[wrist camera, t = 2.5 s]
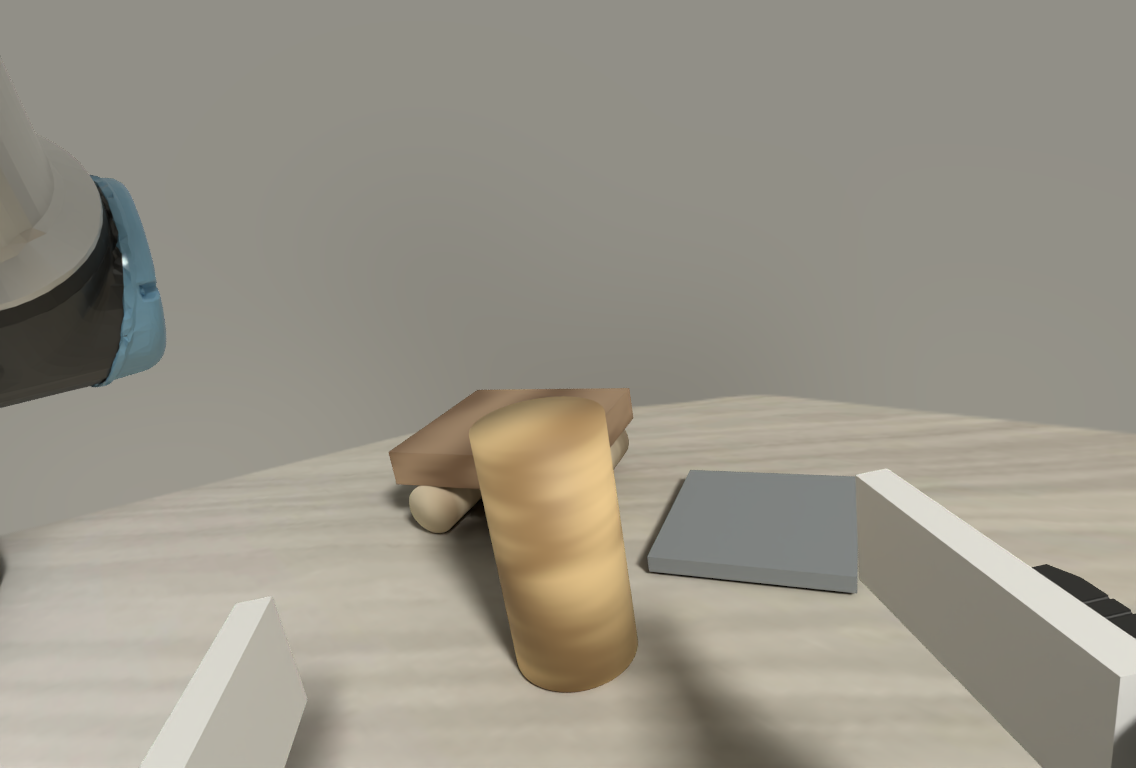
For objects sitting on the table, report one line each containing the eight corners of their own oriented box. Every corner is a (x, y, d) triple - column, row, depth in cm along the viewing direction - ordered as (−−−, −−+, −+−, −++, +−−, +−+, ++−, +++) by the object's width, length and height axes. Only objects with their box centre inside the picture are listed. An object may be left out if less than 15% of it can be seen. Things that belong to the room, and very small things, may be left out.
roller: (495, 679, 26) (442, 448, 23) (546, 600, 31) (507, 396, 28) (614, 702, 24) (574, 452, 21) (652, 615, 29) (622, 396, 26)
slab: (408, 530, 39) (388, 452, 37) (490, 455, 48) (477, 389, 46) (582, 546, 34) (568, 458, 33) (638, 461, 43) (629, 388, 42)
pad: (649, 571, 32) (647, 556, 31) (691, 482, 39) (690, 470, 39) (857, 593, 28) (856, 576, 28) (858, 490, 36) (858, 476, 35)
